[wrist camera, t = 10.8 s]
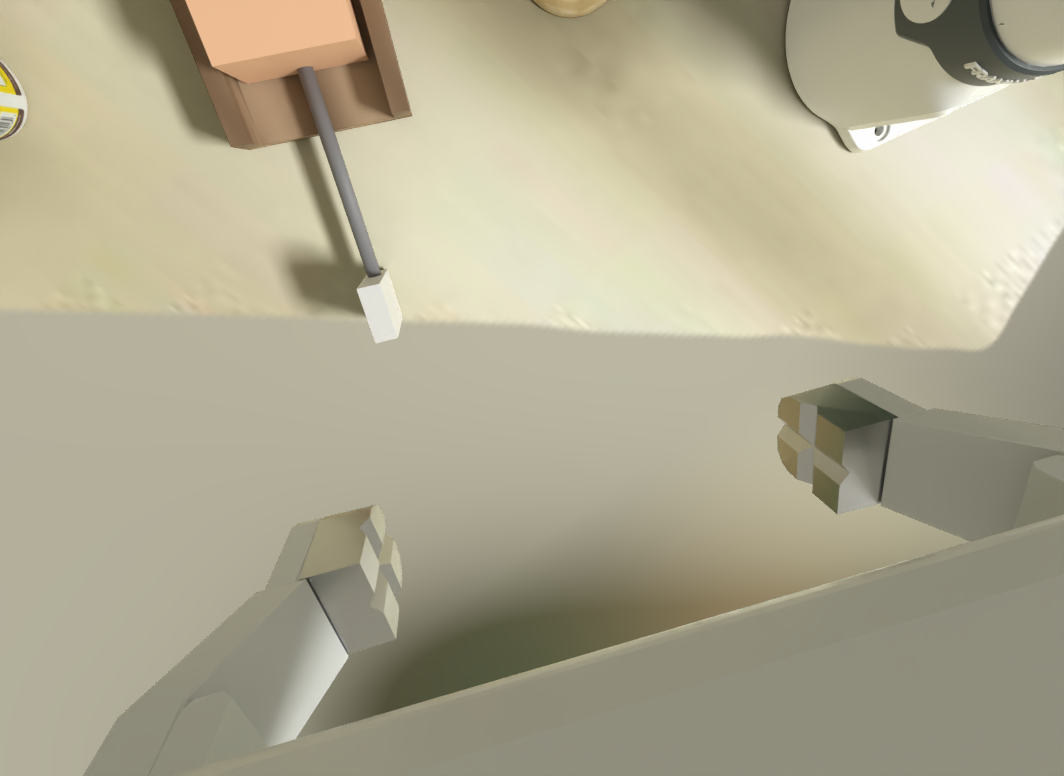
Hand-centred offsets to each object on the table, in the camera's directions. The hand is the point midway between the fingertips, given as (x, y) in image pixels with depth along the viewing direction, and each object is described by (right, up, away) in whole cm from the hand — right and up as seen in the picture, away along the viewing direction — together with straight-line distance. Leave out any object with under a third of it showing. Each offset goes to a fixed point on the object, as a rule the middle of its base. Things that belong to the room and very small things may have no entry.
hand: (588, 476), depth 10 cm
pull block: (-15, +18, +26) cm, 35 cm away
